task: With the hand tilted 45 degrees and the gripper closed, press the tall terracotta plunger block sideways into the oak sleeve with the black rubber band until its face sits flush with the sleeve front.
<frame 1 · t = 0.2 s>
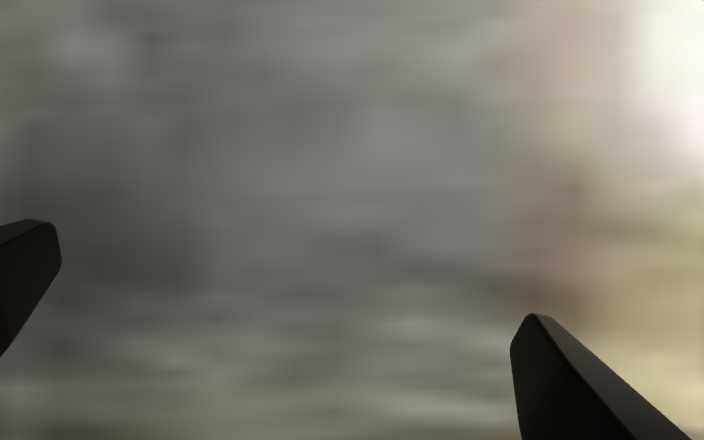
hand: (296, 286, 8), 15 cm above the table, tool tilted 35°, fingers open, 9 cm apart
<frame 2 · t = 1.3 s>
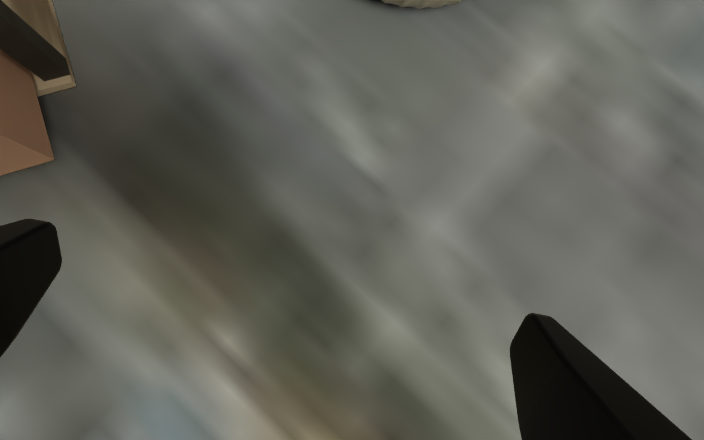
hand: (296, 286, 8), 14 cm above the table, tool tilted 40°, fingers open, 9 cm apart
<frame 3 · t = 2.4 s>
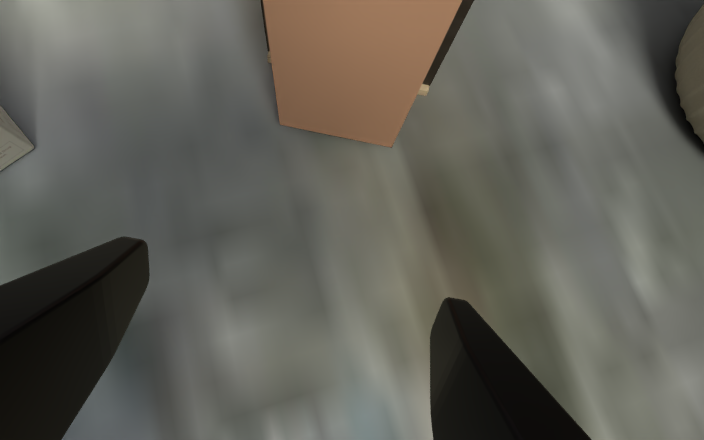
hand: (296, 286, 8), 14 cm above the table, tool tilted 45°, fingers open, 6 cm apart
sleeve: (360, 13, 26), on the table
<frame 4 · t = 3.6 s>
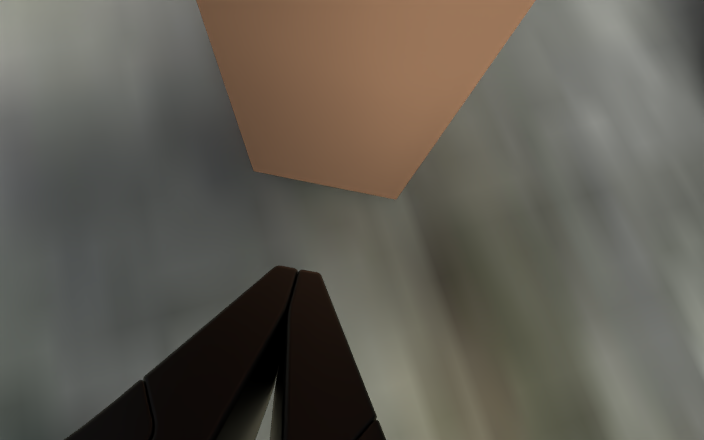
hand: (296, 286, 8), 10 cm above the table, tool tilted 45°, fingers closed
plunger: (357, 2, 12), point 8 cm above the table, slide at 4.5 cm
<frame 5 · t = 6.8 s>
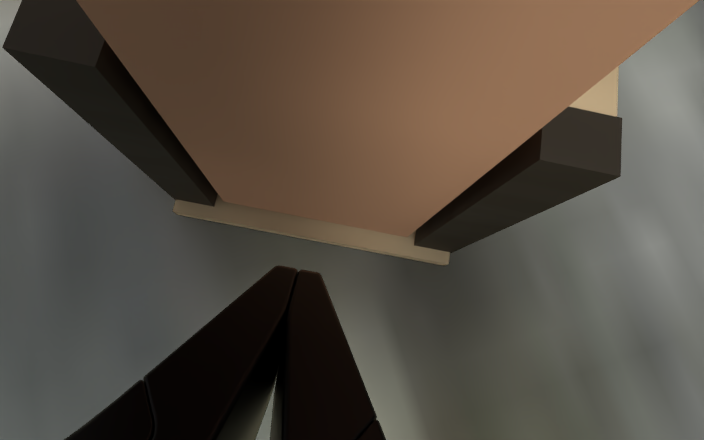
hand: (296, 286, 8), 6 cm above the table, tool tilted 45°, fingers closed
sleeve: (337, 121, 16), on the table
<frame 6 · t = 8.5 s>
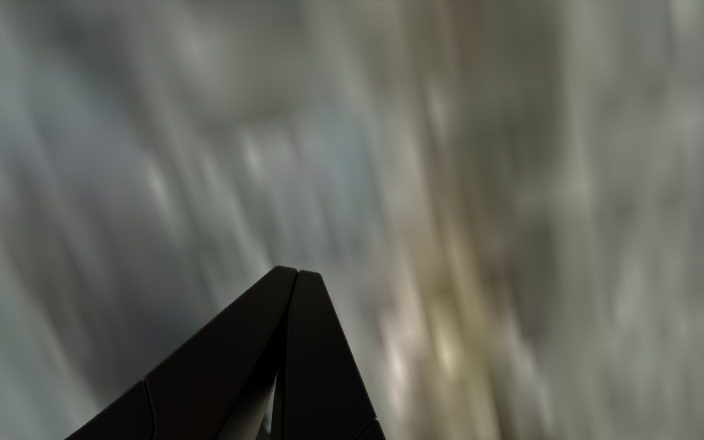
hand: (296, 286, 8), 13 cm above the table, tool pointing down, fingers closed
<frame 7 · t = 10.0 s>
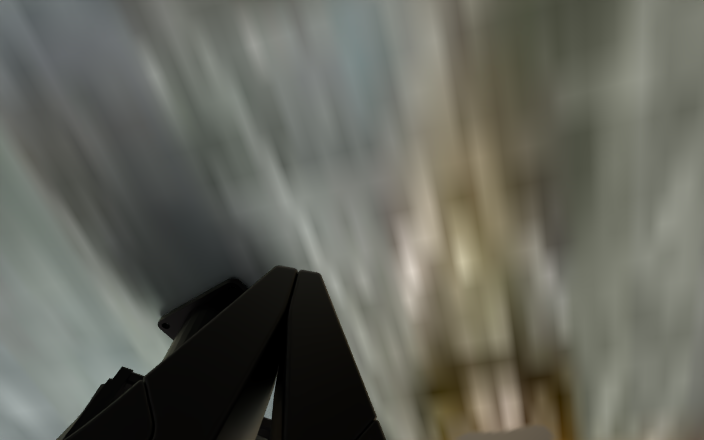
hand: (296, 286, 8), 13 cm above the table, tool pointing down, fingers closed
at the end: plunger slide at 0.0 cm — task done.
